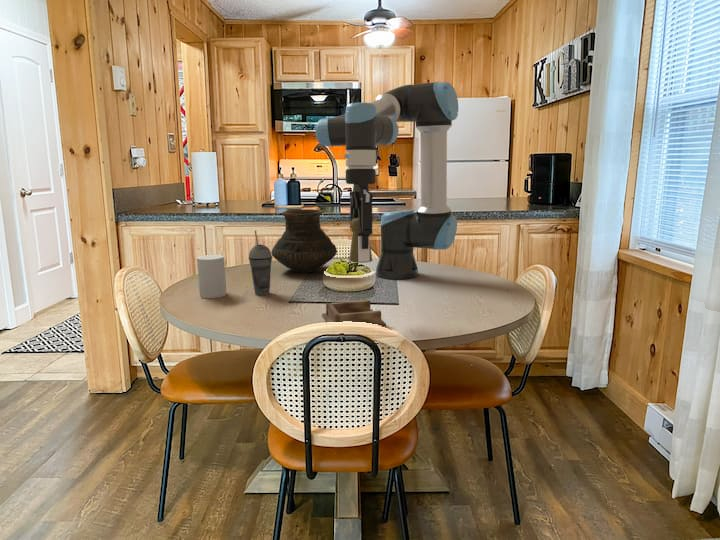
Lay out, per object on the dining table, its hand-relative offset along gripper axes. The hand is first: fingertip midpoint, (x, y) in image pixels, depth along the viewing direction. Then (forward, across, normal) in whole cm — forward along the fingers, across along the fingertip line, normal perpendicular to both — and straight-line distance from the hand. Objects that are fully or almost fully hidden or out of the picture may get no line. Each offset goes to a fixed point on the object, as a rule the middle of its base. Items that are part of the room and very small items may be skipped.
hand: (360, 258), depth 132 cm
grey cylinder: (+16, -36, -38) cm, 55 cm away
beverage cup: (+16, -34, -23) cm, 44 cm away
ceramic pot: (+15, -63, -5) cm, 65 cm away
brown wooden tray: (+16, +2, -2) cm, 16 cm away
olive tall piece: (+1, 0, 0) cm, 1 cm away
